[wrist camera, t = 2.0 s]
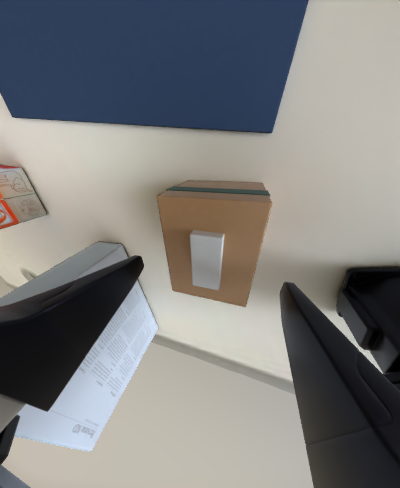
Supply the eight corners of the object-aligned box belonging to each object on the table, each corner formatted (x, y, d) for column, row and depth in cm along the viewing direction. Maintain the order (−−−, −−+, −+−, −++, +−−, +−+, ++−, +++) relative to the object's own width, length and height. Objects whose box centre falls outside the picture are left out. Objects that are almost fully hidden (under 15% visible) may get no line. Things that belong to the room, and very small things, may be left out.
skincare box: (93, 240, 21) (-149, 378, 8) (123, 242, 20) (-113, 415, 7) (137, 322, 32) (62, 437, 19) (159, 328, 31) (94, 457, 18)
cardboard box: (263, 181, 12) (276, 205, 7) (246, 264, 16) (246, 315, 11) (187, 179, 13) (149, 197, 8) (191, 255, 18) (168, 296, 13)
